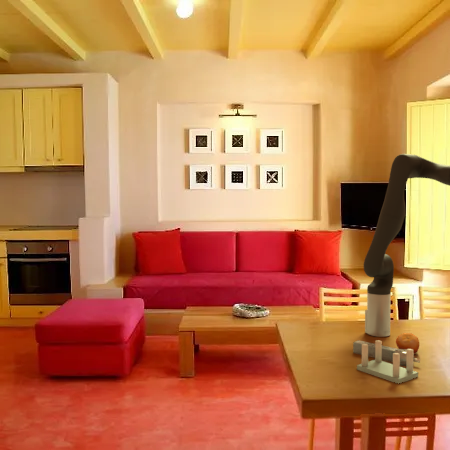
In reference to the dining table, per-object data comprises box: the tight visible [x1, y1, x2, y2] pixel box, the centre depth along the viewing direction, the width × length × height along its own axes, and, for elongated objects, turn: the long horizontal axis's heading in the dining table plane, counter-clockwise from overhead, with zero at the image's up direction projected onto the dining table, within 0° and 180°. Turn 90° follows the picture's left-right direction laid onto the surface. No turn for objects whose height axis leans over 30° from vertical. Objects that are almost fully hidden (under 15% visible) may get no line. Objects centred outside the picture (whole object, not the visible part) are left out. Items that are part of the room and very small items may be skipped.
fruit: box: [395, 332, 420, 355], centre depth 184 cm, size 8×8×8 cm
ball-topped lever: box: [352, 340, 421, 367], centre depth 176 cm, size 24×6×4 cm, turn 45°
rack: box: [356, 339, 419, 385], centre depth 162 cm, size 16×10×8 cm, turn 35°
